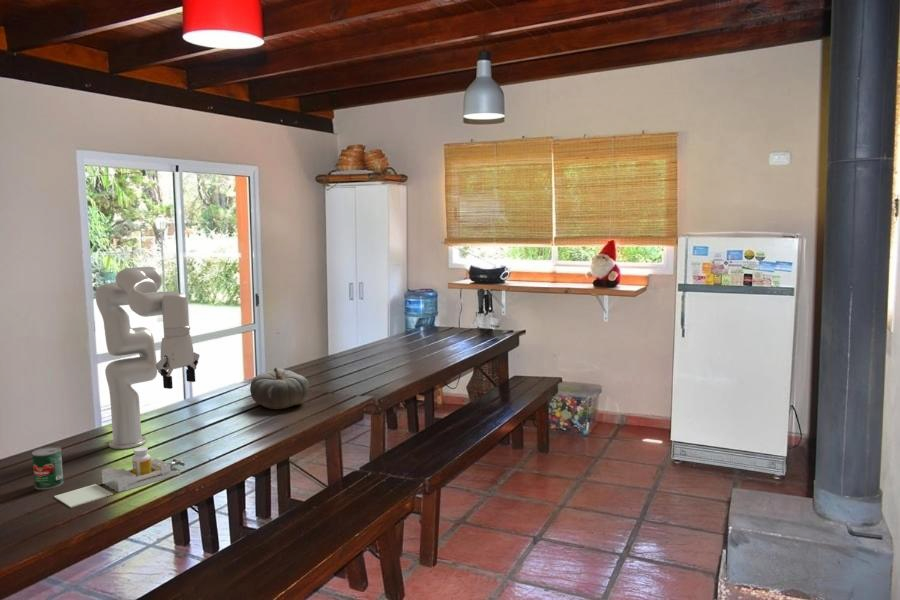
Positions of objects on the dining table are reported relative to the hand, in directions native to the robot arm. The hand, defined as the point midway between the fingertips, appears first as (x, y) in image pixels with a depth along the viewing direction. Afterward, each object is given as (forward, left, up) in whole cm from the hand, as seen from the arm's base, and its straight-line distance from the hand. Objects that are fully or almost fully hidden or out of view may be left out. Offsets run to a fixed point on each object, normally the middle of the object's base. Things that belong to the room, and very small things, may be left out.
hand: (179, 384), depth 221 cm
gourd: (-43, +70, -30) cm, 87 cm away
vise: (-6, -10, -29) cm, 32 cm away
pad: (-6, -29, -29) cm, 42 cm away
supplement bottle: (-6, -11, -30) cm, 32 cm away
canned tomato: (-24, -32, -30) cm, 50 cm away
